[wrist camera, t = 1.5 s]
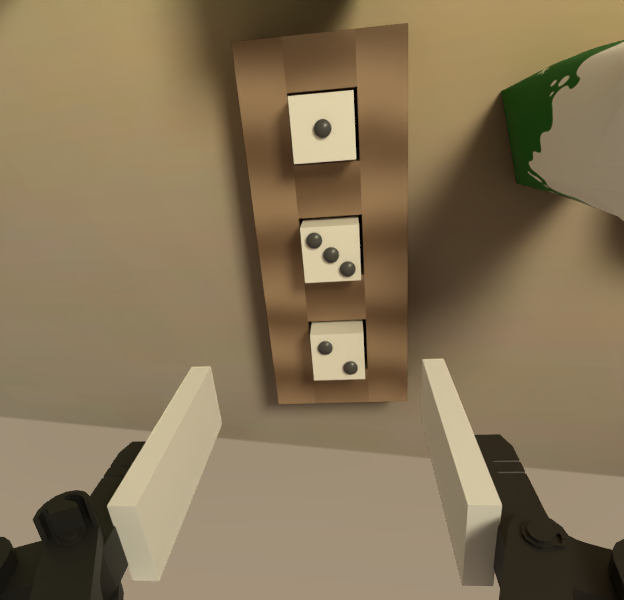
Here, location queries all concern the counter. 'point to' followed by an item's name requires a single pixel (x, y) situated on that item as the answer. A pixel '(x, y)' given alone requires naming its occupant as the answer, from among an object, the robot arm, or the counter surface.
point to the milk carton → (572, 128)
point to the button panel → (331, 202)
